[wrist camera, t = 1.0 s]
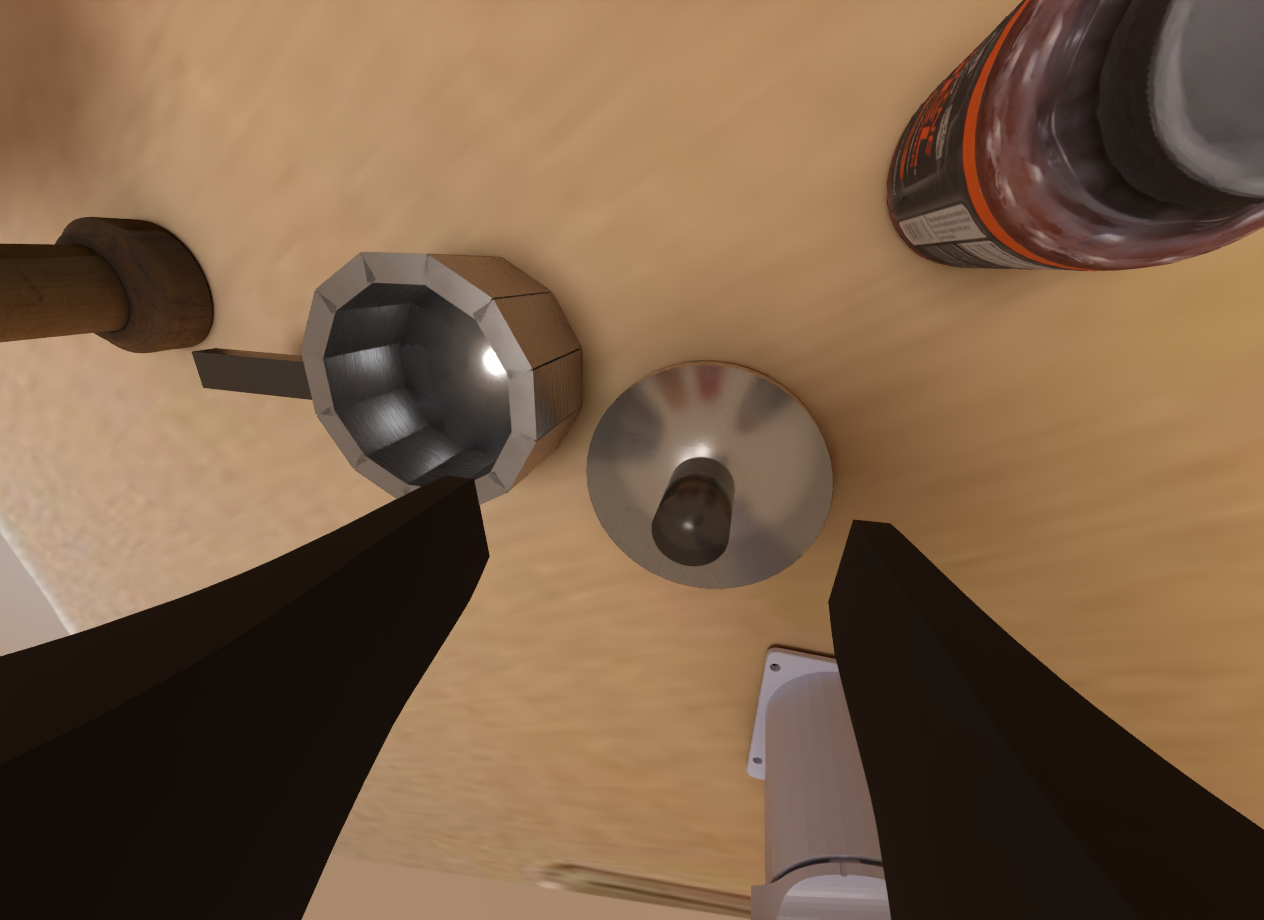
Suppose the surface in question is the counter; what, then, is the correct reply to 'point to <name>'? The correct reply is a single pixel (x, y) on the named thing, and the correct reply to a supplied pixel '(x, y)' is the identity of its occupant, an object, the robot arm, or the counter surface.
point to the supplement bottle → (1090, 139)
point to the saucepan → (426, 370)
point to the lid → (710, 475)
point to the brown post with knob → (105, 287)
